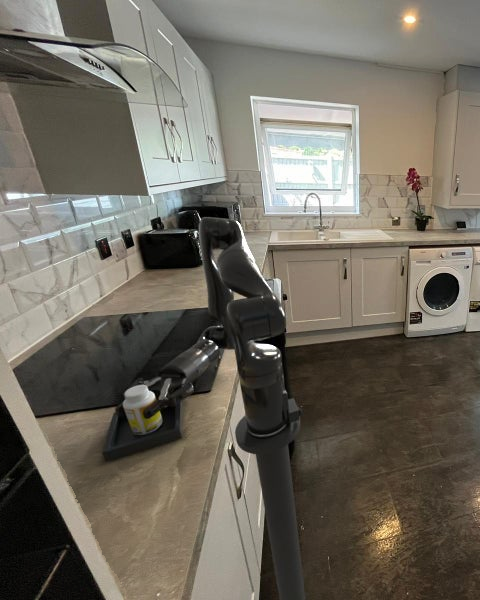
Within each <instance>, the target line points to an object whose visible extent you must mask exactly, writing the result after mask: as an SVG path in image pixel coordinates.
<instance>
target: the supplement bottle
mask: <svg viewBox="0 0 480 600" xmlns="http://www.w3.org/2000/svg"><path fill="white" fill-rule="evenodd" d="M127 389H128V388H127ZM127 389H126V390H127ZM124 395H125V398H124V400H123V401H124V402H123V401H122V402H123V408H124V410H125V413H126V416H127V418H128V421H129V424H130V426H131V429H132V431H133V433H134V434H136V435H145V434H149V433H151V432H153V431H155V430H156V429H158V428H159V427H160V426H161V424H162V416H161V413H160V411H159V412H158V413H156V414H155V415H154V416H152V417H151V418H150V419H145V418H144V415H143V411H144V410H145V409H146V408H147V407H148V406H149V405H150V404H152V403H153V402H154V401H155V400H157V397H155V395H154V393H153V392H151V391H149V390H148V388H147V386H145V385H138V386H134V387H132V388H130V389H128V390H127V391H126V392H125V394H124ZM124 395H123V396H124Z"/></svg>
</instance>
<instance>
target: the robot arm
mask: <svg viewBox="0 0 480 600" xmlns="http://www.w3.org/2000/svg"><path fill="white" fill-rule="evenodd" d="M198 240H199V241H198V242H199V248H200V254H201V261H202V266H203V267H202V268H203V272H204V277H205V283H206V284H205V285H206V293H207V308H208V309H207V313H208V314H207V315H208V317H209V318H210V319H211V320H214V321H217V322H219V323H220V324H221V326H220V325H212V326H209V327H207V328H205V329H204V331H202V333H201V335H200V337H198V340H197V341H196V343H194V344H193V345H192V346H191V347H189V348H187V350H184V351H183V352H181V353H180V354H178V355H177V356H176V357H175V358H173V359H172V360H170V361H168V362H167V364H166V365H164V366H163V367H162V368H161V369H159V371H158V374H157V376H155V377H152V378H151V379H149V380H144V378H143V377H139V378H137V379H136V380H135V381H134V382H132V384H131V385H129V386H128V387H127V389H125V390H124V391H123V392H122V395H123V398H124V399H125V395H124V394H125V392H126V391H127V390H128V389H130V388H132V387H134V386H138V385H145V386H147V388H148V390H149V391H151V392H153V393H154V395H155V398H158V399H156V400H155V401H154V402H153V403H152V404H150V405H149V406H148V407H147V408H146V409H145V410H144V411H143V415H144V418H145V419H150V418H151V417H152V416H154V415H155V414H156V413H158V412H159V411H160V410H161V409H162V408H165V407H167V406H168V405H170V406H171V407H174V406H176V405H177V404H179V403H180V402H181V401H182V402H183V401H184V400H185V399H187V398H189V397H190V396H191V395H192V394H194V392H195V390H194V389H195V388H194V385H193V383H194V382H195V381H196V380H197V379H198V378H200V376H202V374H203V373H205V371H206V370H207V368H208V367H210V366H211V365H213V363H214V362H215V361H217V359H218V358H219V357H220V354H221V350H224V351H225V350H226V351H234V355H235V361H236V368H237V372H238V380H239V385H240V391H241V392H240V393H241V397H242V403H243V410H244V416H246V421H247V430H248V433H249V434H250V435H251V436H252V437H254V438H258V439H265V438H270V437H273V436H276V435H278V434H279V433H281V432H282V431H283V430H284V429H285V428H286V427H288V426H290V425H291V423H292V422H295V421H298V420H300V421H301V416H302V414H303V410H302V408H301V407H298V405H297V403H296V400H295V398H294V397H293V398H289V395H288V392H287V390H286V387H285V385H286V384H285V377H284V367H283V358H282V357H283V355H282V352H281V350H280V348H278V347H277V346H274V345H272V344H269V343H259V342H258V343H257V342H256V341H263V340H265V339H270V338H275V337H277V336H280V335H282V334H283V333H284V332H285V331H286V328H287V315H286V311H285V309H284V307H283V305H282V303H281V300H280V299H279V298H278V296H277V294H276V293H275V292H274V291H273V289H272V288H271V286H270V285H269V283H268V282H267V281H266V278H264V275H263V273H262V271H261V268H260V266H259V264H258V262H257V260H256V258H255V257H254V255H253V253H252V252H251V250H250V247H249V246H248V243H247V240H246V237H245V235H244V231H243V229H242V226H241V224H240V223H239V221H237V220H234V219H231V218H224V217H223V218H222V217H221V218H220V217H211V216H208V217H207V216H204V217H201V219H200V221H199V224H198ZM214 251H221V252H220V254H219V255H218V256H217V259H215V254H214ZM235 294H237V295H238V296H239V295H240V296H242V297H243V298H239V299H235ZM177 396H178V398H177V399H175V398H176V397H177ZM123 402H124V400H123V401H121V403H119V404H118V405H117V406H115V408H114V412H116V414H117V416H123V415H124V414H125V410H124V408H123Z"/></svg>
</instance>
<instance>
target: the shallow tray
mask: <svg viewBox="0 0 480 600" xmlns="http://www.w3.org/2000/svg"><path fill="white" fill-rule="evenodd" d="M177 398H178V396H177V397H176V398H175V399H177ZM160 413H161V416H162V424H161V426H160V427H159V428H158V429H156V430H155V431H153V432H151V433H149V434H145V435H136V434H134V433H133V431H132V429H131V426H130V424H129V421H128V418H127V416H126V413H125V414H124V415H123V416H117V414H116V412H115V411H114V412H113V414H112V418H111V420H110V424H109V427H108V431H107V434H106V437H105V442H104V445H103V447H102V452H101V454H102V457H103V459H104V461H105V463H106V462H110V461H114V460H117V459H120V458H123V457H126V456H128V455H129V456H130V455H133V454H137V453H139V452H142V451H145V450H150V449H152V448H156V447H159V446H162V445H165V444H169V443H172V442H175V441H178V440H181V439H183V415H184V402H183V401H181V402H180V403H179V404H177V405H176V406H174V407H171V406H170V405H168V406H167V407H165V408H162V409H161V410H160Z"/></svg>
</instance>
